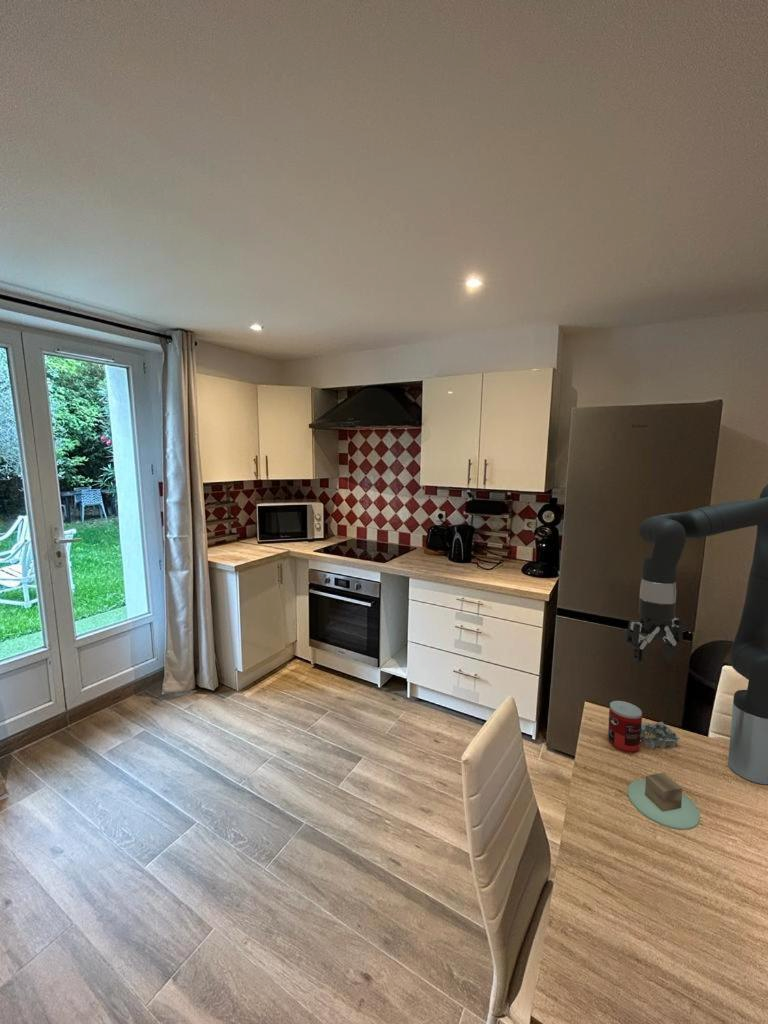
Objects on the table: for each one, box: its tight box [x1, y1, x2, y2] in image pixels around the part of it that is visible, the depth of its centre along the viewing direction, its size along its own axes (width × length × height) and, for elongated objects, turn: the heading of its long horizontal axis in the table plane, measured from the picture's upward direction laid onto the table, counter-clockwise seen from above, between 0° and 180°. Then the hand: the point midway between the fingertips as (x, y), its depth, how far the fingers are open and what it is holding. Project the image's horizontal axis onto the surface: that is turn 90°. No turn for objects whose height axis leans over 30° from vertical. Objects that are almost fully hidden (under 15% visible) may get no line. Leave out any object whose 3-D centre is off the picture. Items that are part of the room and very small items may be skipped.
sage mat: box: [627, 778, 701, 831], centre depth 98 cm, size 14×14×1 cm
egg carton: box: [640, 721, 681, 750], centre depth 120 cm, size 11×8×4 cm
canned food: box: [607, 700, 643, 754], centre depth 118 cm, size 8×8×11 cm
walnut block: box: [645, 772, 684, 812], centre depth 98 cm, size 5×5×5 cm
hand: (653, 660), depth 105 cm, fingers open, 8 cm apart
